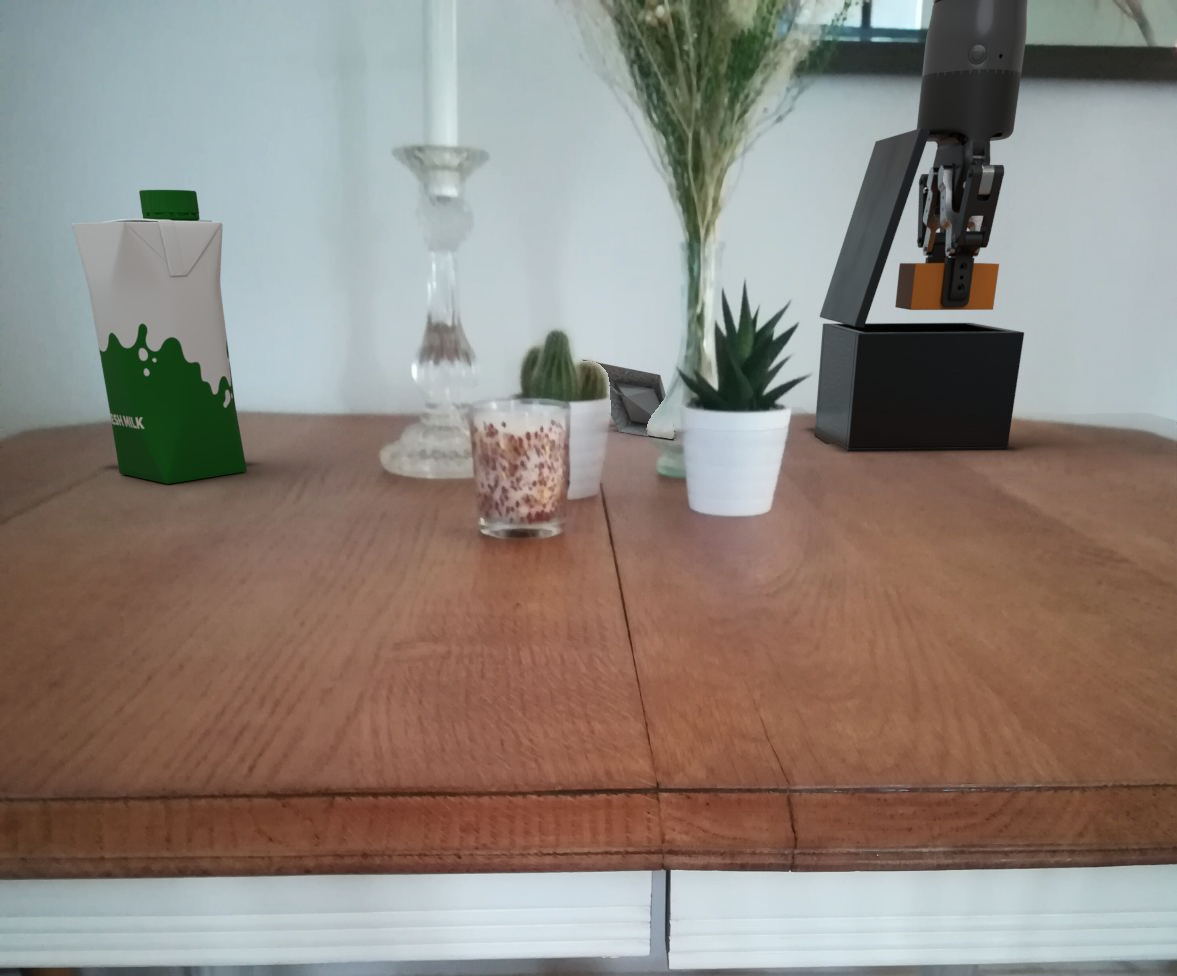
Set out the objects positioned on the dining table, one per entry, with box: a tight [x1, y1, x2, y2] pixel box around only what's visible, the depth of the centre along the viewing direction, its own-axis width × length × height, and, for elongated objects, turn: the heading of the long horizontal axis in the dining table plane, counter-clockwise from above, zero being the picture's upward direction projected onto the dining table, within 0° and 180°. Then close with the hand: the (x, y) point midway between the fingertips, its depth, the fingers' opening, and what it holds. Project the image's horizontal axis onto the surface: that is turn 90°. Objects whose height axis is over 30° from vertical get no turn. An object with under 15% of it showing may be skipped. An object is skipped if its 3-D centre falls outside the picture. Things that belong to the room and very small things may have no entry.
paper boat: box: [582, 358, 667, 437], centre depth 109 cm, size 12×6×9 cm
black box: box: [813, 322, 1025, 453], centre depth 101 cm, size 14×13×10 cm
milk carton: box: [71, 189, 248, 485], centre depth 88 cm, size 9×9×20 cm
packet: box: [895, 262, 1000, 311], centre depth 98 cm, size 7×4×4 cm, turn 93°
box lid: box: [819, 128, 930, 328], centre depth 96 cm, size 14×13×1 cm
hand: (943, 304), depth 99 cm, fingers closed on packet, 4 cm apart
